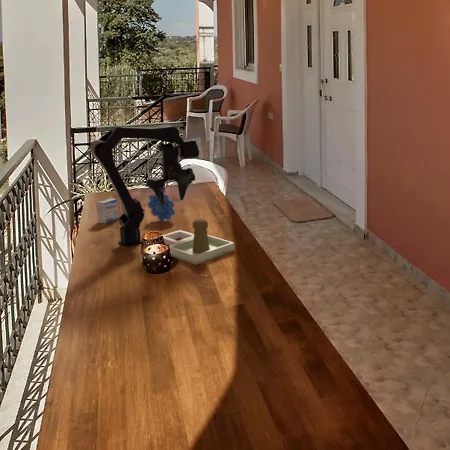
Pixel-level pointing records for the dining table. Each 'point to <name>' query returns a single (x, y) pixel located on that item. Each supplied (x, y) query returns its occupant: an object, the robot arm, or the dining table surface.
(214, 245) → the parts tray
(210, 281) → the dining table surface
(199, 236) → the cork
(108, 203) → the medicine box
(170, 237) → the socket block
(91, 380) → the dining table surface
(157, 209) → the blue bumpy cluster
